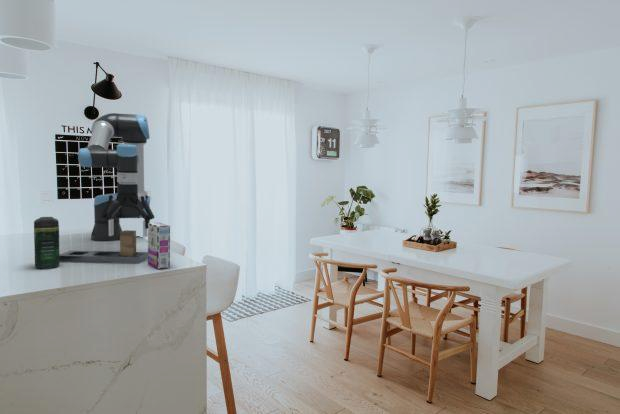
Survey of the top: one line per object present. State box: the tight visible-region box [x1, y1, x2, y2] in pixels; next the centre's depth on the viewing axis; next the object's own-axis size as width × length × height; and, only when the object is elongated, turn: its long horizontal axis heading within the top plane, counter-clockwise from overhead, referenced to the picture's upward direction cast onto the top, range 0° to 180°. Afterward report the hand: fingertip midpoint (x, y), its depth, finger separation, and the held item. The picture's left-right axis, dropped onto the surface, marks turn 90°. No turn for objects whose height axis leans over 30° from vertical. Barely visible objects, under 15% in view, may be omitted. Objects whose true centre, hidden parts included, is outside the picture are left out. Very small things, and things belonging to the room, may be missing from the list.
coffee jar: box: [33, 216, 61, 269], centre depth 152 cm, size 10×8×19 cm
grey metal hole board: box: [59, 250, 148, 265], centre depth 165 cm, size 10×32×2 cm, turn 91°
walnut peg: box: [119, 229, 137, 256], centre depth 164 cm, size 4×4×12 cm
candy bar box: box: [147, 222, 171, 270], centre depth 157 cm, size 11×5×16 cm, turn 40°
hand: (128, 236), depth 164 cm, fingers open, 13 cm apart
